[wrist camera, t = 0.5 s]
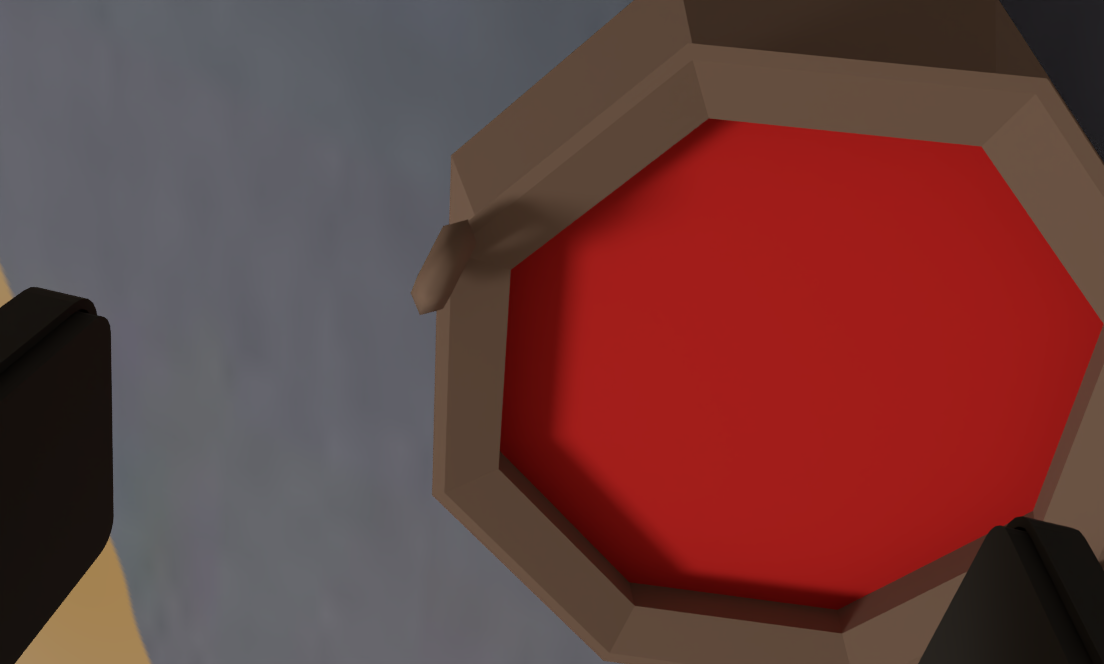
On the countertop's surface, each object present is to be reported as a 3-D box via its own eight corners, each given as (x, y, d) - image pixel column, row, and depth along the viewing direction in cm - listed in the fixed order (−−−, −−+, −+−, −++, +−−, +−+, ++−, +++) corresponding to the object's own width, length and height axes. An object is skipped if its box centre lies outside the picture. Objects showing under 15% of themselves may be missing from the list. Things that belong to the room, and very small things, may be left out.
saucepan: (374, 337, 44) (229, 587, 30) (637, -212, 33) (609, -239, 19) (832, 561, 47) (904, 889, 32) (1211, 124, 36) (1572, 325, 22)
